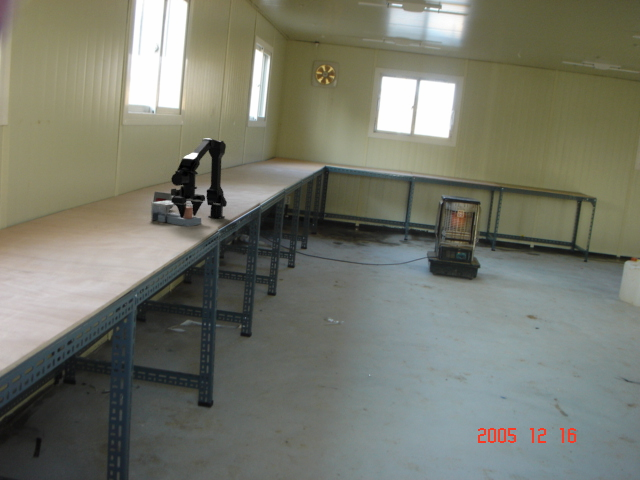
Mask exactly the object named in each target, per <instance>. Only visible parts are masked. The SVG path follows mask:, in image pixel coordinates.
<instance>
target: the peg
mask: <svg viewBox="0 0 640 480" xmlns="http://www.w3.org/2000/svg"><path fill="white" fill-rule="evenodd" d="M192 216H193V206H192V207H190V206H186V209H185V213H184V218H185V219H192Z"/></svg>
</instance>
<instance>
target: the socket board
mask: <svg viewBox="0 0 640 480" xmlns="http://www.w3.org/2000/svg"><path fill="white" fill-rule="evenodd" d="M157 221H158V222H161V223H165V214H162V215H158V220H157ZM166 224H173V225H178V226H184V227H193V226H196V225H201V224H202V217H200V216H193V215H192V219H185V218H184V217H183V218H181V216H180V213H174V212H169V213H168V214H167V223H166Z"/></svg>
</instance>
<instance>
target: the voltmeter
mask: <svg viewBox="0 0 640 480" xmlns="http://www.w3.org/2000/svg"><path fill="white" fill-rule="evenodd" d="M172 197H173V196H172V195H171V192H163V191H161V192H160V191H154V195H153V201H152V202H159V201H167V200H169V201H171V198H172ZM191 201H192V200H191ZM191 201H190V202H186V203H185V204H187V205H186V207H192V208H193V205H192V203H191ZM188 204H189V205H188ZM190 204H191V205H190ZM173 207H174V206H169V212H170V211H171V209H172V208H173Z"/></svg>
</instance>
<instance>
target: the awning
mask: <svg viewBox="0 0 640 480" xmlns="http://www.w3.org/2000/svg"><path fill="white" fill-rule="evenodd" d="M169 206H173V207H174V206H176V205H175V204H173V203H171V201H169V200H167V201H159V202H153V201H152V202H151V206H150V208H151V210H150V220H151V221H158V215H162V214H165V222H164V224H168V223H167V214H168V213H170V211H169Z"/></svg>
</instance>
